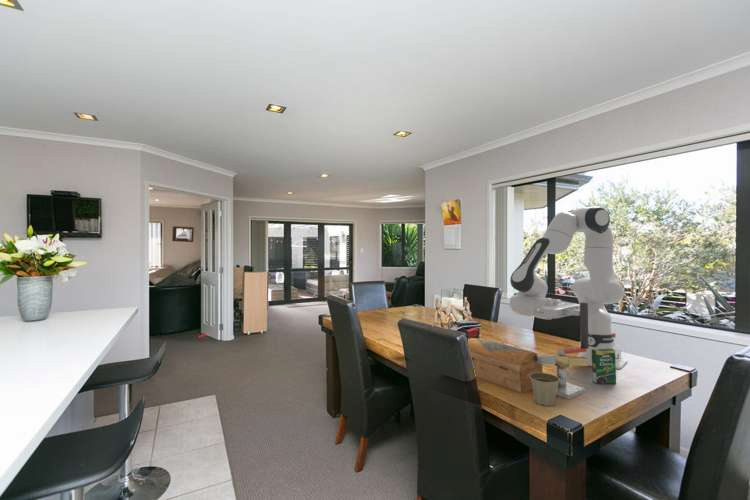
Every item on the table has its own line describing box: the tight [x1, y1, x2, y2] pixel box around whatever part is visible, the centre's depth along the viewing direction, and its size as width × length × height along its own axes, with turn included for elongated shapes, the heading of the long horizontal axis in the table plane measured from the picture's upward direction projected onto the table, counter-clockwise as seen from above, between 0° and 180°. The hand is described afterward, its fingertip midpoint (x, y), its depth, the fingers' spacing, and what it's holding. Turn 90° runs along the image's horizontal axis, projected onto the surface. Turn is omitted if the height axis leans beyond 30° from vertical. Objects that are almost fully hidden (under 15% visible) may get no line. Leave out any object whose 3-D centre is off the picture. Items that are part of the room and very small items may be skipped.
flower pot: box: [529, 372, 560, 407], centre depth 120 cm, size 9×9×9 cm
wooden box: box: [467, 337, 544, 395], centre depth 144 cm, size 30×16×14 cm, turn 35°
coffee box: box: [591, 348, 617, 385], centre depth 137 cm, size 8×3×13 cm, turn 91°
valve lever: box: [557, 302, 589, 355], centre depth 132 cm, size 14×3×18 cm, turn 107°
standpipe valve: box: [536, 352, 589, 400], centre depth 130 cm, size 14×14×13 cm
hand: (581, 313), depth 135 cm, fingers closed, pressing on valve lever
